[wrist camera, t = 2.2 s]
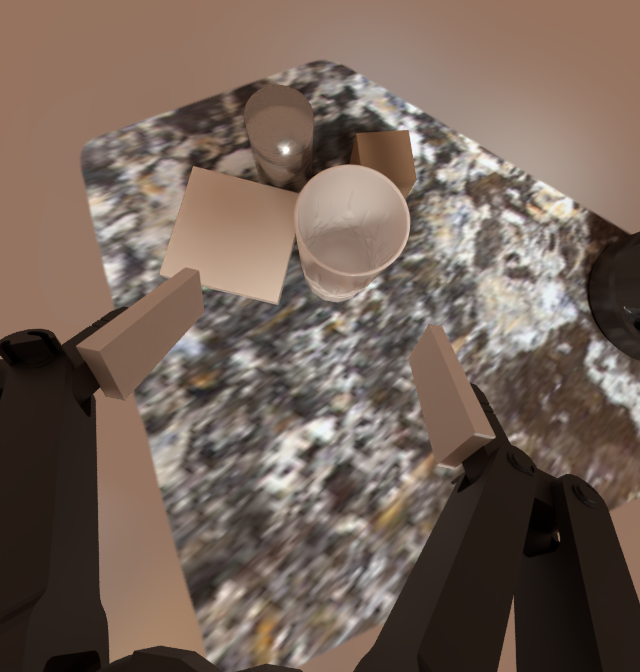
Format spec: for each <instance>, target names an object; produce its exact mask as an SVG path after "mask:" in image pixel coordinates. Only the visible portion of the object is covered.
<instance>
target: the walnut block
mask: <svg viewBox="0 0 640 672" xmlns="http://www.w3.org/2000/svg"><path fill="white" fill-rule="evenodd" d="M349 165H360V166H365V167H368V168H371V169H373V170H376V171H378V172H380V173H381V174H383V175H384V176H386V177H387V178H388V179H390V180H391V181H392V182H393V183H394V184H395V185H396V187H397V188H398V189H399V190H400V192H401V193H402V195H403V197H404V199H405V198H406V196H407V195H408V193H409V191H410V190H411V188H412V186H413V185H414V183H415V182H416V180H417V179H416V173H415V167H414V161H413V155H412V149H411V143H410V137H409V130H402V131H385V132H369V133H356V137H355V141H354V146H353V150H352V155H351V159H350V164H349Z"/></svg>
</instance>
